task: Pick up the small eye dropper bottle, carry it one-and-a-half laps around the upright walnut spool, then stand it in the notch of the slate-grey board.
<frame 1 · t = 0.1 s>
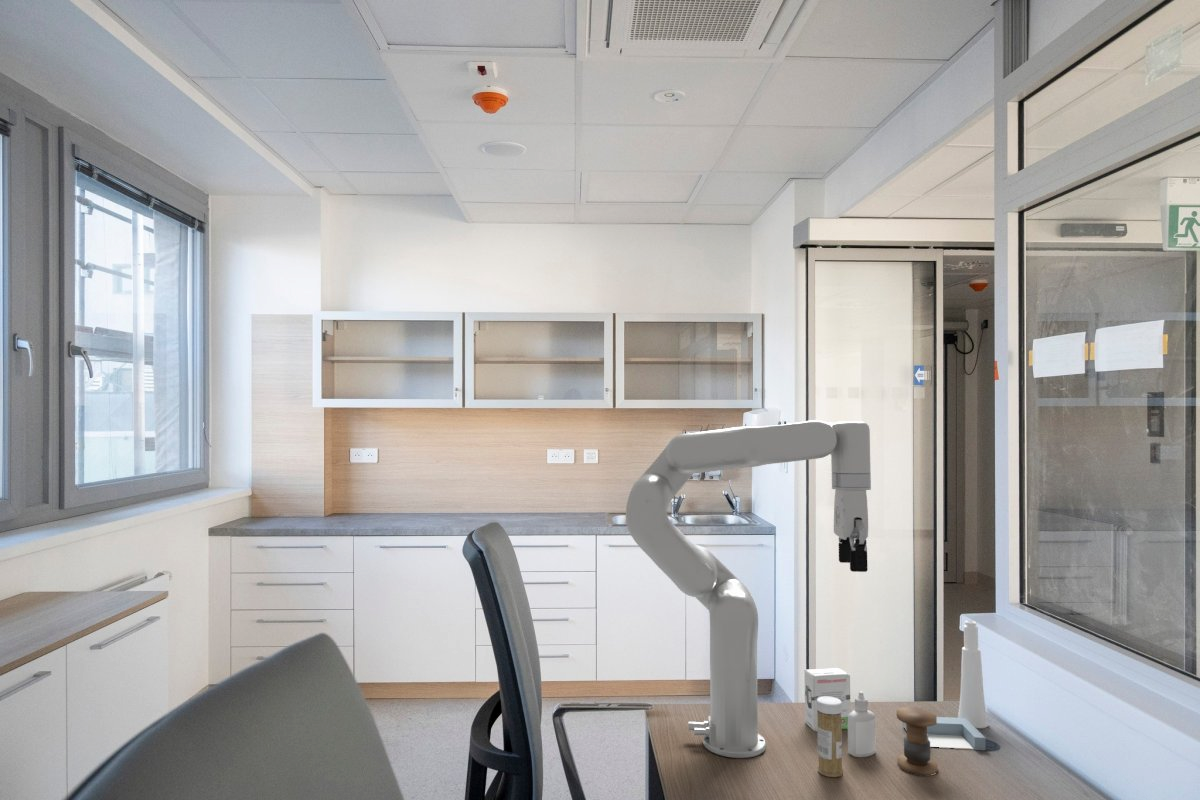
hand: (852, 566, 146), 37 cm above the table, tool pointing down, fingers open, 9 cm apart
notched board: (942, 738, 150), on the table
spool: (917, 767, 137), on the table
ink box: (827, 727, 157), on the table
eye dropper bottle: (862, 754, 143), on the table
sprinkles bottle: (830, 773, 135), on the table
cosmetic bottle: (972, 724, 158), on the table
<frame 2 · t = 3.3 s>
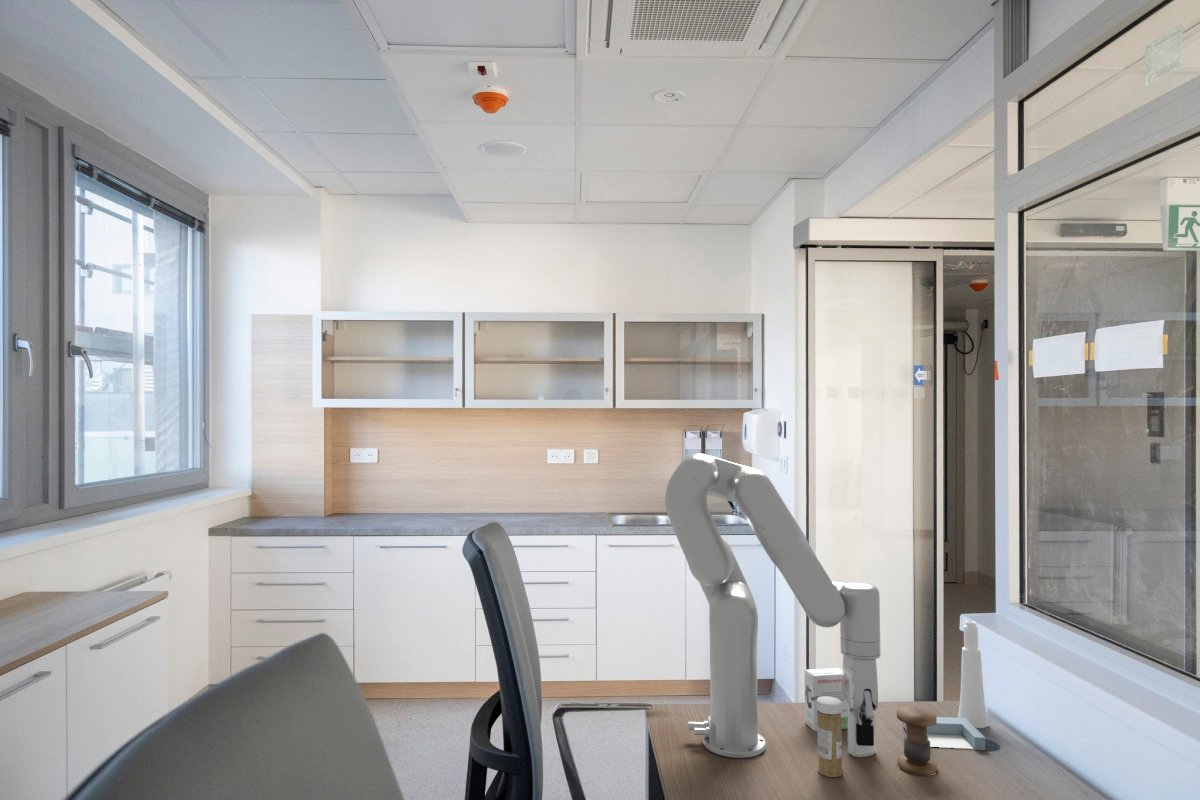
hand: (861, 738, 143), 3 cm above the table, tool pointing down, fingers closed on eye dropper bottle, 4 cm apart
eye dropper bottle: (861, 754, 143), on the table, touching gripper
everything else where it was.
when the fingers open (4 cm above the table, at t = 11.7 s): eye dropper bottle drops 1 cm, resting on notched board.
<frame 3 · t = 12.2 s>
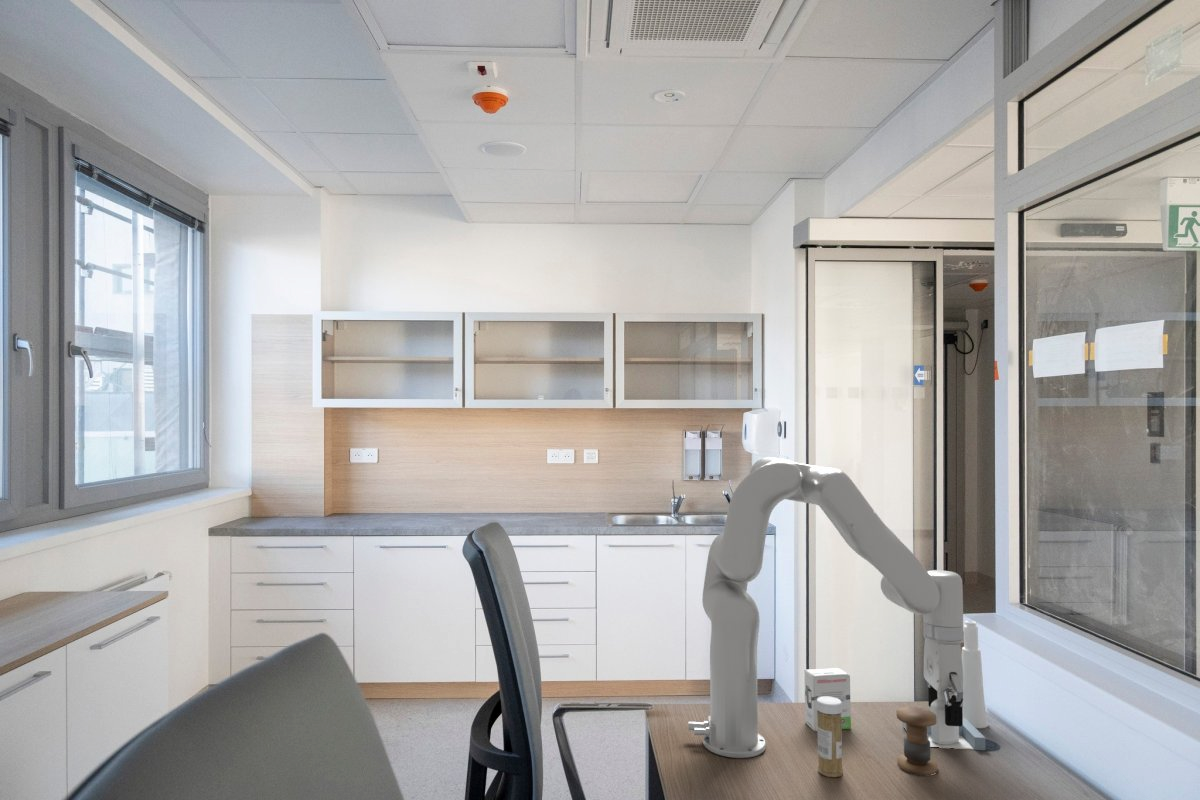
hand: (945, 716, 149), 5 cm above the table, tool pointing down, fingers open, 9 cm apart
eye dropper bottle: (945, 742, 148), resting on notched board
everything else where it was.
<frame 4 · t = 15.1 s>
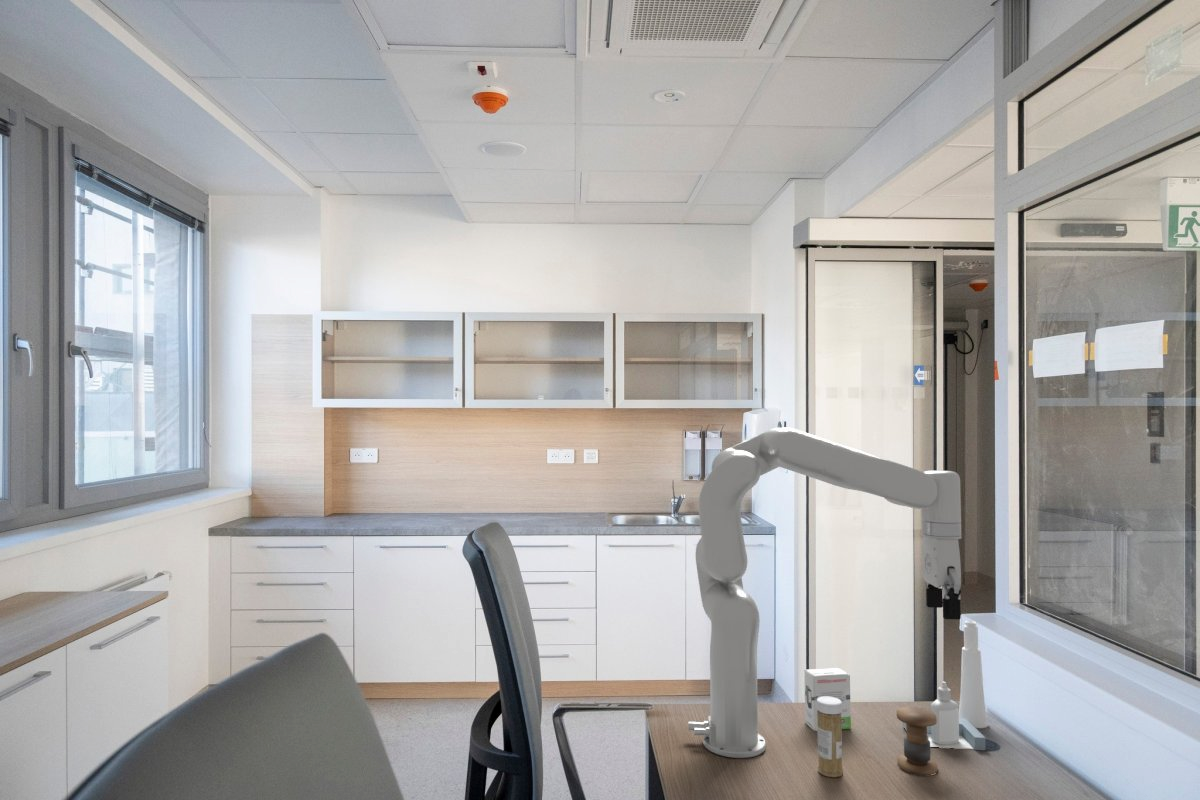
hand: (942, 612, 150), 26 cm above the table, tool pointing down, fingers open, 9 cm apart
nothing on the table moved.
at the end: eye dropper bottle inside the target area (0.2 cm from its centre), resting on notched board; eye dropper bottle tilted 0°; the gripper is holding nothing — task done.
